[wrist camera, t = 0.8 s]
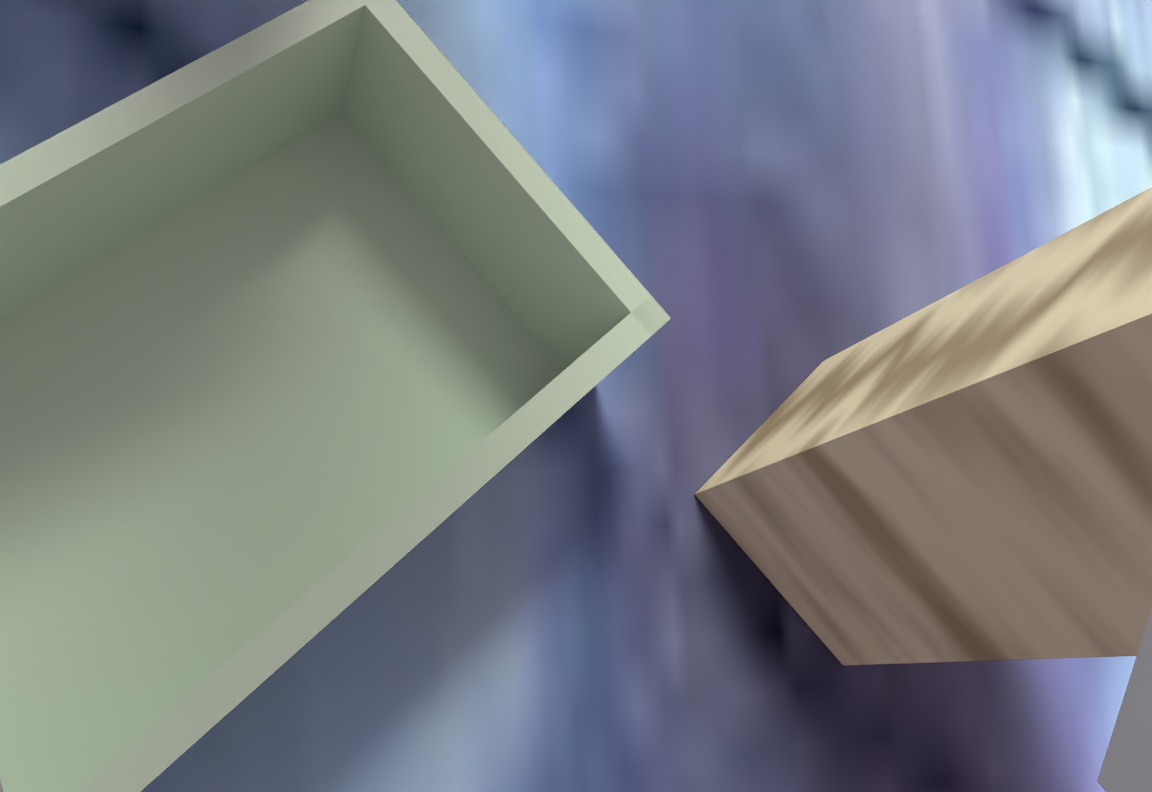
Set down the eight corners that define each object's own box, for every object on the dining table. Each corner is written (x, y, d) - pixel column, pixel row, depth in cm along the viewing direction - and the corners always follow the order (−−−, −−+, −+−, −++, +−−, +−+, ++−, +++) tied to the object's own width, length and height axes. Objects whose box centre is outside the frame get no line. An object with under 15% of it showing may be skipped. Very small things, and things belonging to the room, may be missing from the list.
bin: (-139, 1029, 26) (-253, 1142, 19) (-526, 602, 25) (-771, 575, 19) (594, 378, 38) (670, 318, 32) (342, 87, 38) (368, -32, 32)
